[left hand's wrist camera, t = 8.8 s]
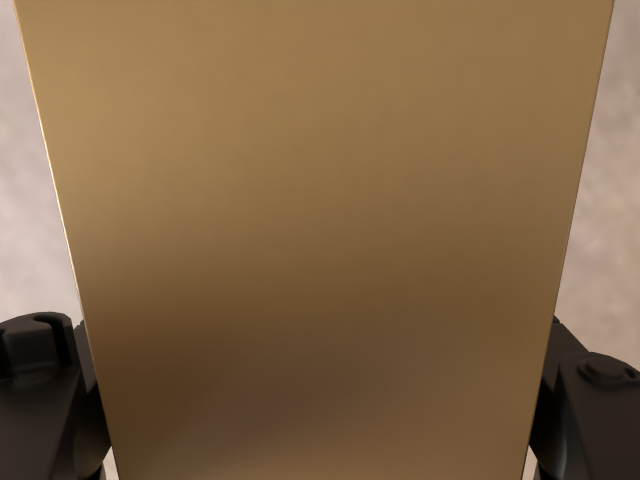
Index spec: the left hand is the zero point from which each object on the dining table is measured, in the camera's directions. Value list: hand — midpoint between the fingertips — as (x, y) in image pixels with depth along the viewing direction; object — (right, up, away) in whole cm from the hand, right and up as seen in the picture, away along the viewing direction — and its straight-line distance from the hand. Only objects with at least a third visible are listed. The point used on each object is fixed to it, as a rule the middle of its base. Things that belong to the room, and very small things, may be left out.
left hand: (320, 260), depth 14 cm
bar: (0, +24, -8) cm, 26 cm away
